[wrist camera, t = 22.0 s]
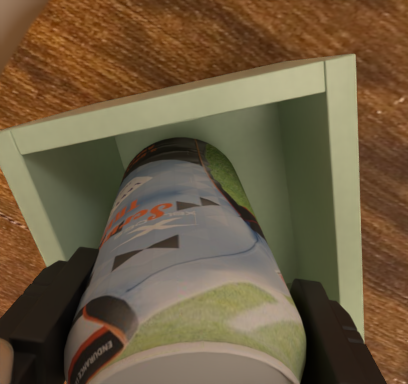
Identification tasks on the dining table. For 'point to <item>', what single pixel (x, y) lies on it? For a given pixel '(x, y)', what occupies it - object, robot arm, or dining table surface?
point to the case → (230, 146)
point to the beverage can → (184, 282)
